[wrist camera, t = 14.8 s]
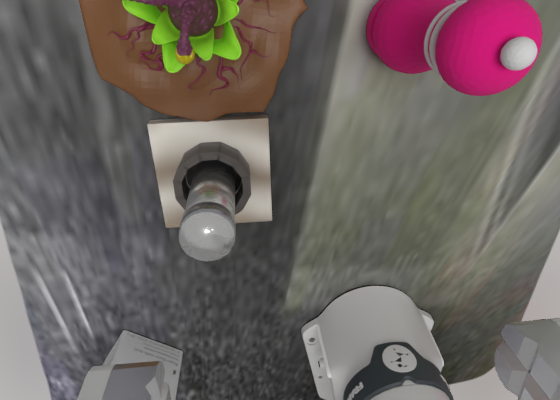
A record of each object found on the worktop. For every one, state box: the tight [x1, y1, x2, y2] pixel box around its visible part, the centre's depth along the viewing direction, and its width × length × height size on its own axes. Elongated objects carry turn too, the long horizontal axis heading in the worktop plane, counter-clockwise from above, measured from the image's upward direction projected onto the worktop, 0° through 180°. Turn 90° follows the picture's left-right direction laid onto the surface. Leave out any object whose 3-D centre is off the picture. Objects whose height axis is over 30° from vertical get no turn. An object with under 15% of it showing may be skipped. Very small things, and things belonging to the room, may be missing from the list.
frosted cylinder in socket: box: [178, 160, 236, 261], centre depth 38 cm, size 5×5×12 cm
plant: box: [79, 0, 307, 122], centre depth 32 cm, size 20×20×11 cm
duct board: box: [147, 114, 272, 228], centre depth 42 cm, size 12×12×4 cm
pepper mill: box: [366, 0, 542, 96], centre depth 30 cm, size 7×7×20 cm
